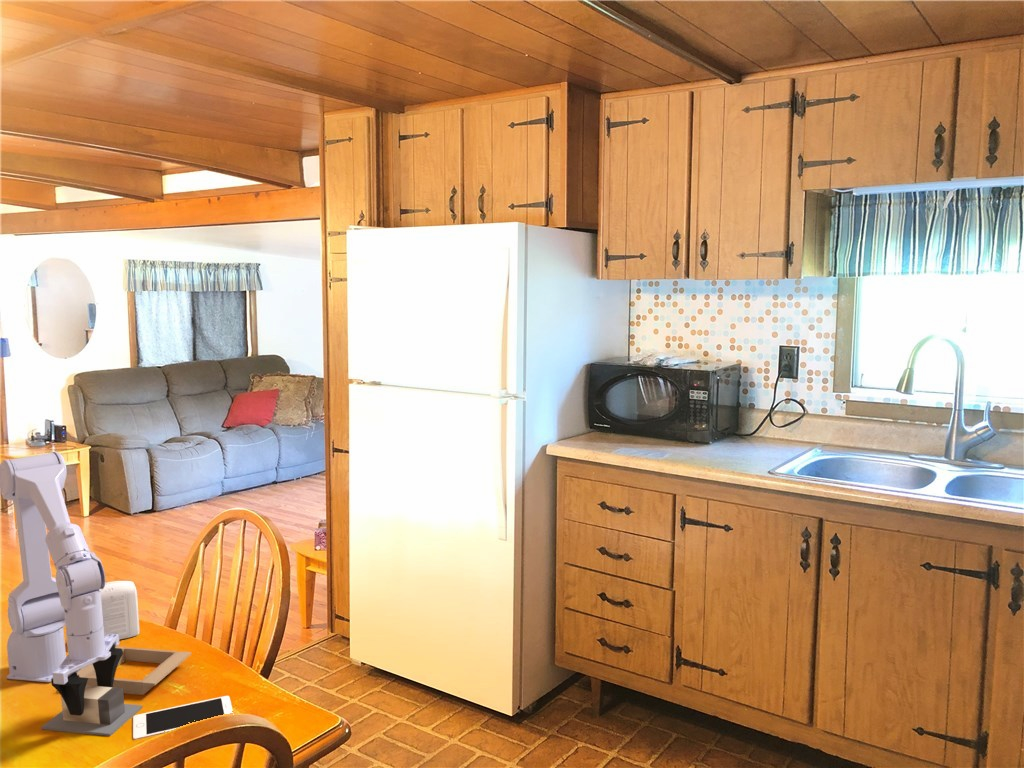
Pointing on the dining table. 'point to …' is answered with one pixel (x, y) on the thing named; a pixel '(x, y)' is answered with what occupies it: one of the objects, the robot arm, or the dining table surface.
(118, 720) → the mat
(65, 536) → the robot arm
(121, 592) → the photo printer
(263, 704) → the dining table surface
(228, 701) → the cell phone
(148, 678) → the tan rectangular frame
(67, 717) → the box
